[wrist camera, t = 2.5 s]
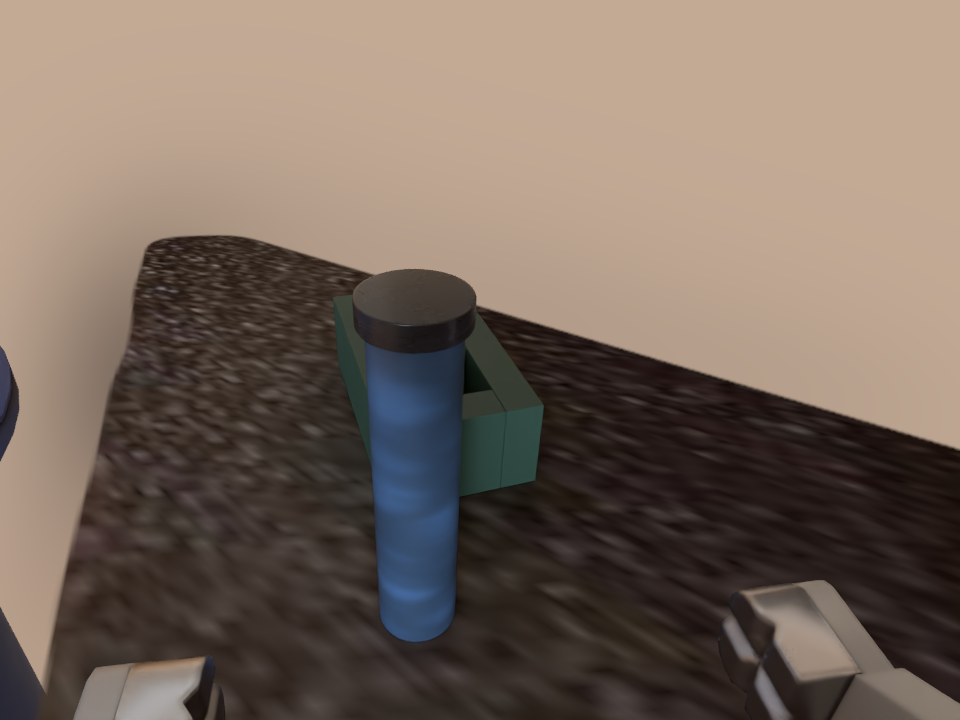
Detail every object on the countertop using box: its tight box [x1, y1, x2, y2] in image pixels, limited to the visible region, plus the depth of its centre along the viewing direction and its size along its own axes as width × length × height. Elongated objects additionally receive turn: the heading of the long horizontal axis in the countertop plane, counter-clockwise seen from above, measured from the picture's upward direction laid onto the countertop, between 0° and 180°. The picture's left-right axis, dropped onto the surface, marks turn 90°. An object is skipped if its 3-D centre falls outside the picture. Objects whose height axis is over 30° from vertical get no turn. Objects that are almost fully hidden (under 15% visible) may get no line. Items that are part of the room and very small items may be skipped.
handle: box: [352, 269, 476, 642], centre depth 25 cm, size 4×4×15 cm
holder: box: [333, 295, 544, 497], centre depth 39 cm, size 8×14×5 cm, turn 19°
